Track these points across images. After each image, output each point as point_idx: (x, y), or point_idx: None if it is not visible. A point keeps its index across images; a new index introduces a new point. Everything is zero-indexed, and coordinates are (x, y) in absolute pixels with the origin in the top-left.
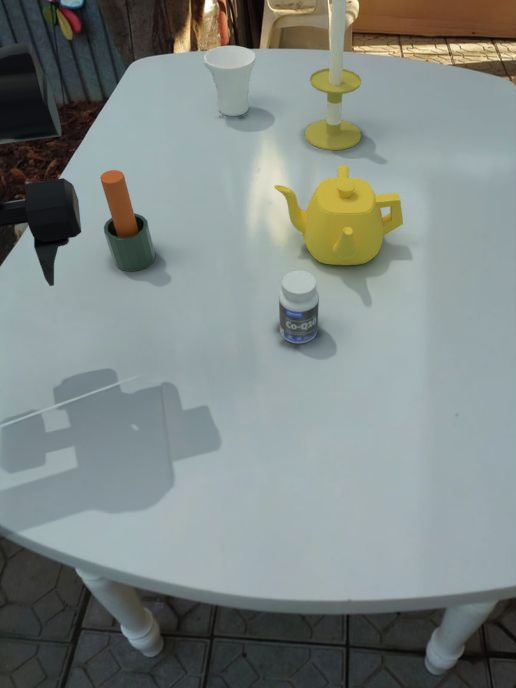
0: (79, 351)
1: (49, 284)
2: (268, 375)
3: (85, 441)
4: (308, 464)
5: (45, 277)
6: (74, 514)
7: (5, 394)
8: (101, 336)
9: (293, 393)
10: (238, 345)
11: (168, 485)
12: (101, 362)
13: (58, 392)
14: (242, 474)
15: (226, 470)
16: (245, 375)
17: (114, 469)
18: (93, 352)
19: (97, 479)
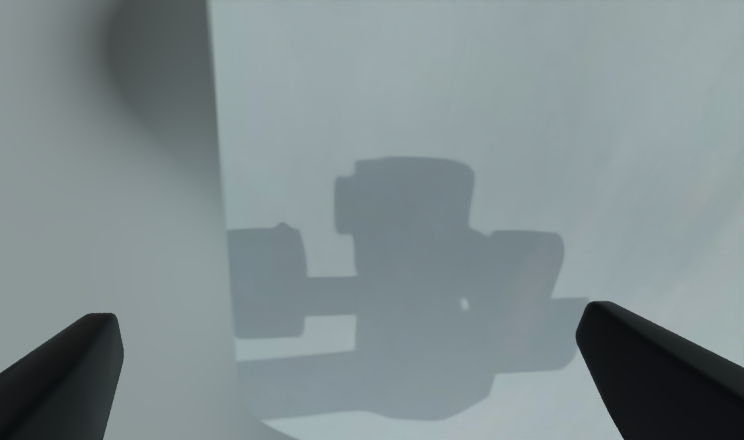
0: (413, 81)
1: (585, 358)
2: (709, 268)
3: (378, 316)
4: None
5: (620, 429)
6: (342, 415)
7: (221, 163)
8: (479, 44)
9: (712, 310)
10: (718, 186)
11: (476, 401)
12: (454, 138)
13: (345, 195)
14: (569, 404)
15: (554, 396)
16: (679, 258)
17: (412, 368)
18: (445, 98)
19: (384, 377)
